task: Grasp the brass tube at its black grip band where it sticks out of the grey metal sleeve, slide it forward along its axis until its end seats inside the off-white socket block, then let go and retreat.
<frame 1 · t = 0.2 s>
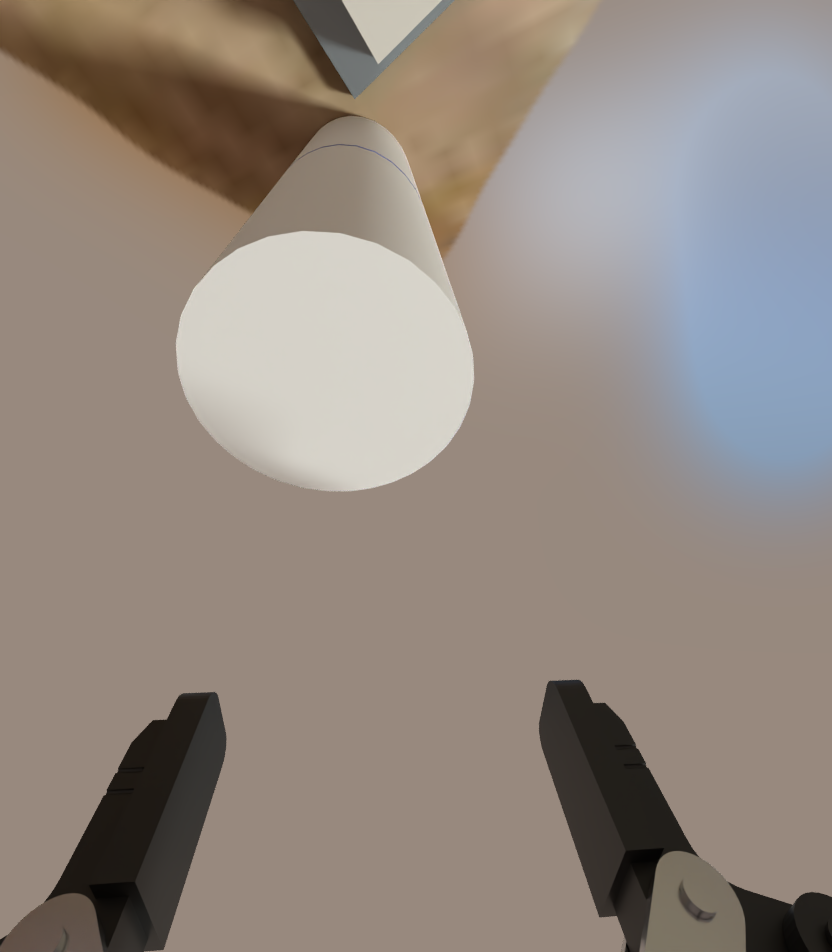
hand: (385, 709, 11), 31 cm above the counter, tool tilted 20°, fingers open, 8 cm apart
cylindrical container: (357, 184, 30), on the counter
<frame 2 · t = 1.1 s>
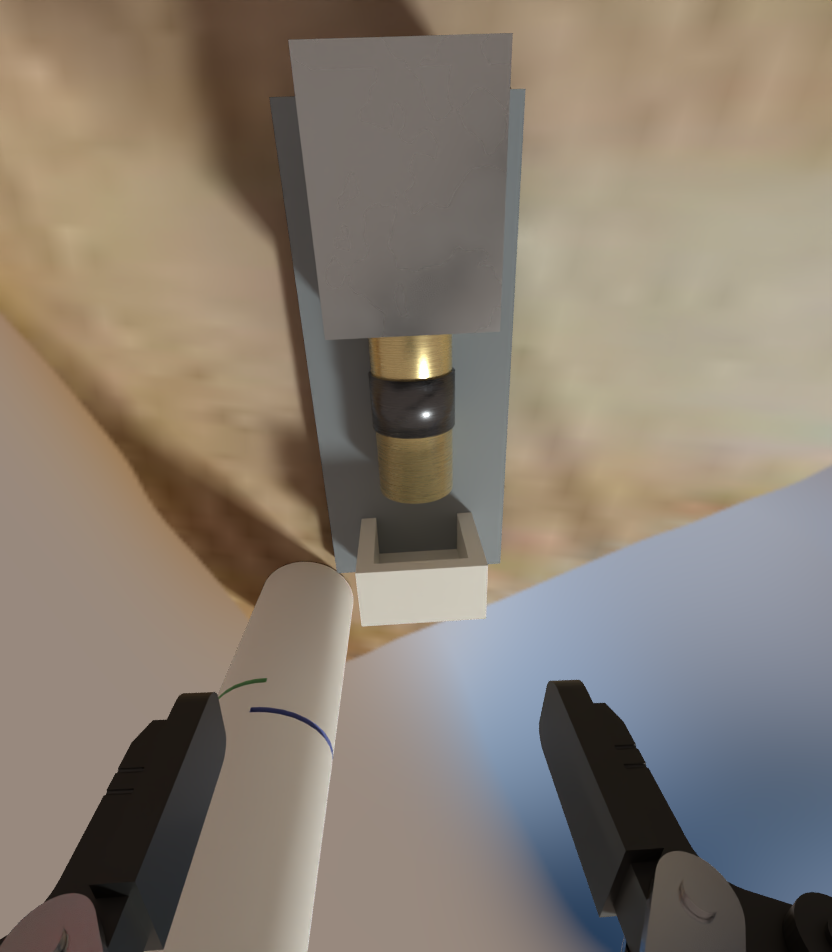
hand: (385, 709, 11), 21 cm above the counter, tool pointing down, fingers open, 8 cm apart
tube: (409, 333, 24), point 4 cm above the counter, slide at 0.0 cm
socket: (416, 528, 33), resting on board
sleeve: (403, 228, 25), resting on board
cylindrical container: (308, 597, 36), on the counter
board: (410, 377, 28), on the counter
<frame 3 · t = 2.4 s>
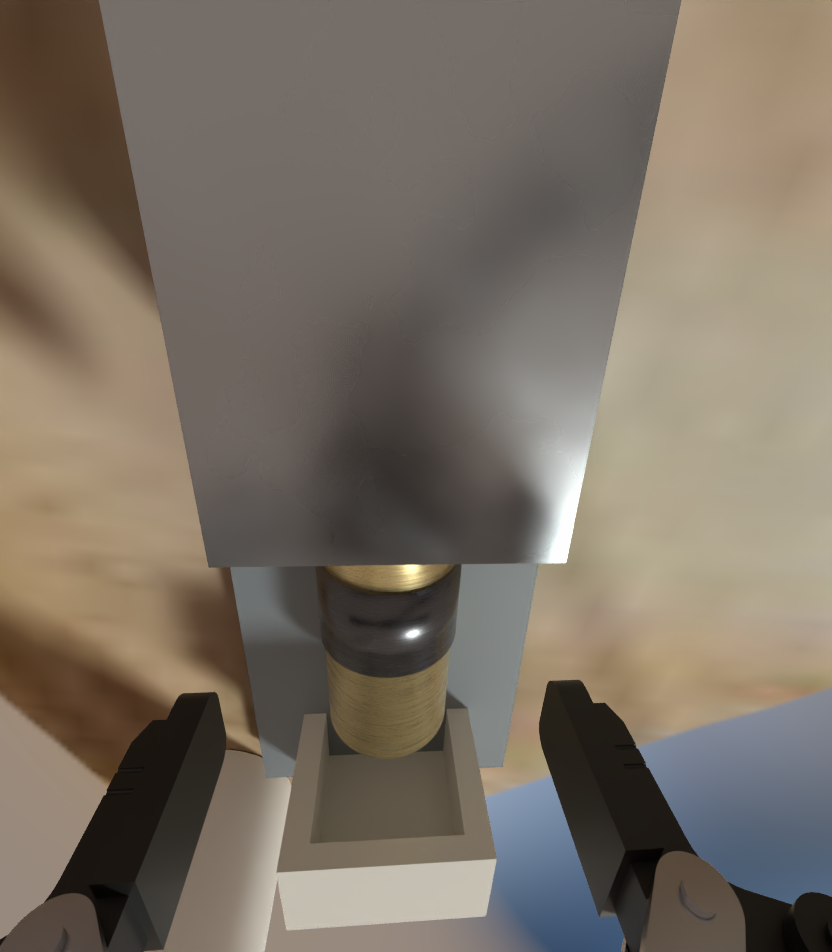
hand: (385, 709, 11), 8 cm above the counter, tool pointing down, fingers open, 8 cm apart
tube: (389, 495, 14), point 4 cm above the counter, slide at 0.0 cm
socket: (386, 712, 23), resting on board
sleeve: (389, 309, 15), resting on board
cylindrical container: (227, 788, 25), on the counter
board: (387, 522, 19), on the counter
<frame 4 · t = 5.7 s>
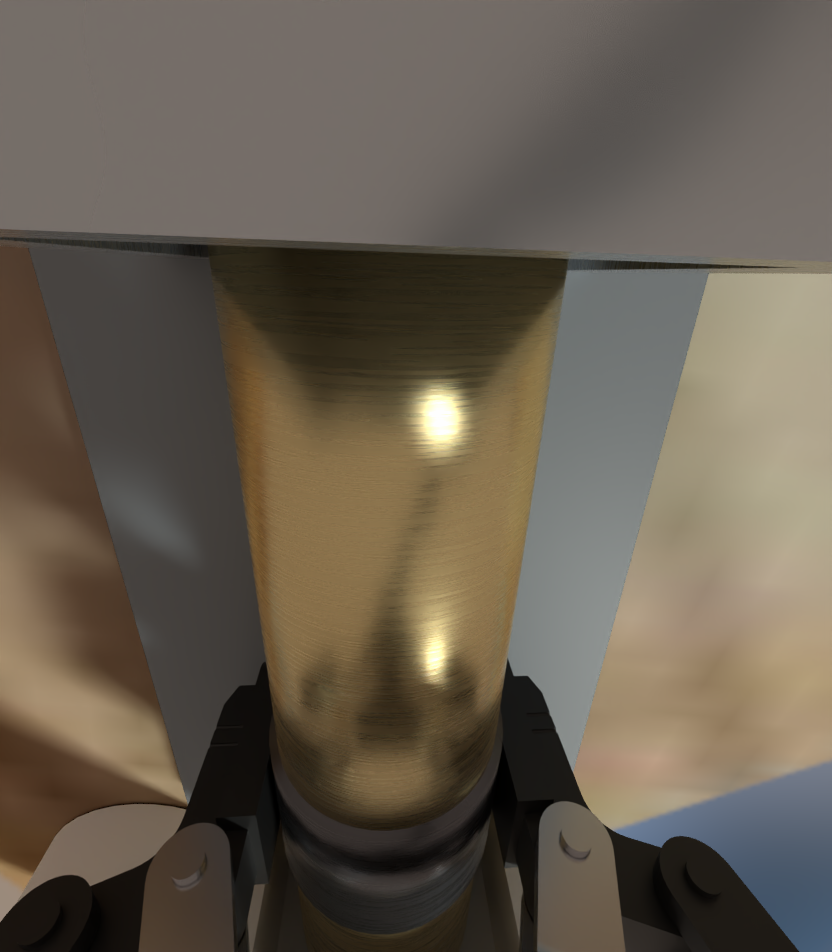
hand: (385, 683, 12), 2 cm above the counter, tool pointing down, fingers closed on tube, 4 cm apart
tube: (388, 636, 8), point 4 cm above the counter, slide at 5.9 cm, touching gripper
socket: (385, 746, 16), resting on board
cylindrical container: (155, 854, 17), on the counter
board: (386, 437, 11), on the counter
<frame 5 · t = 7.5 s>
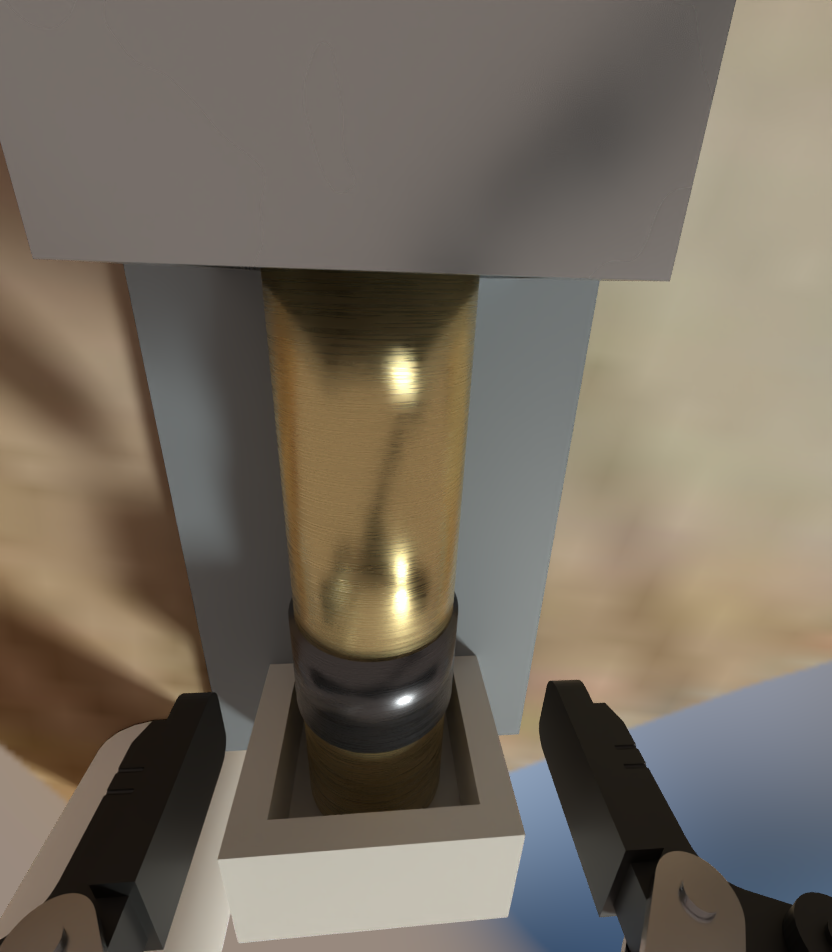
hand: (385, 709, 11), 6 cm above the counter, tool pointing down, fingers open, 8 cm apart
tube: (374, 540, 12), point 4 cm above the counter, slide at 5.9 cm
socket: (375, 668, 19), resting on board
sleeve: (371, 73, 11), resting on board
cylindrical container: (181, 770, 21), on the counter
board: (373, 404, 14), on the counter
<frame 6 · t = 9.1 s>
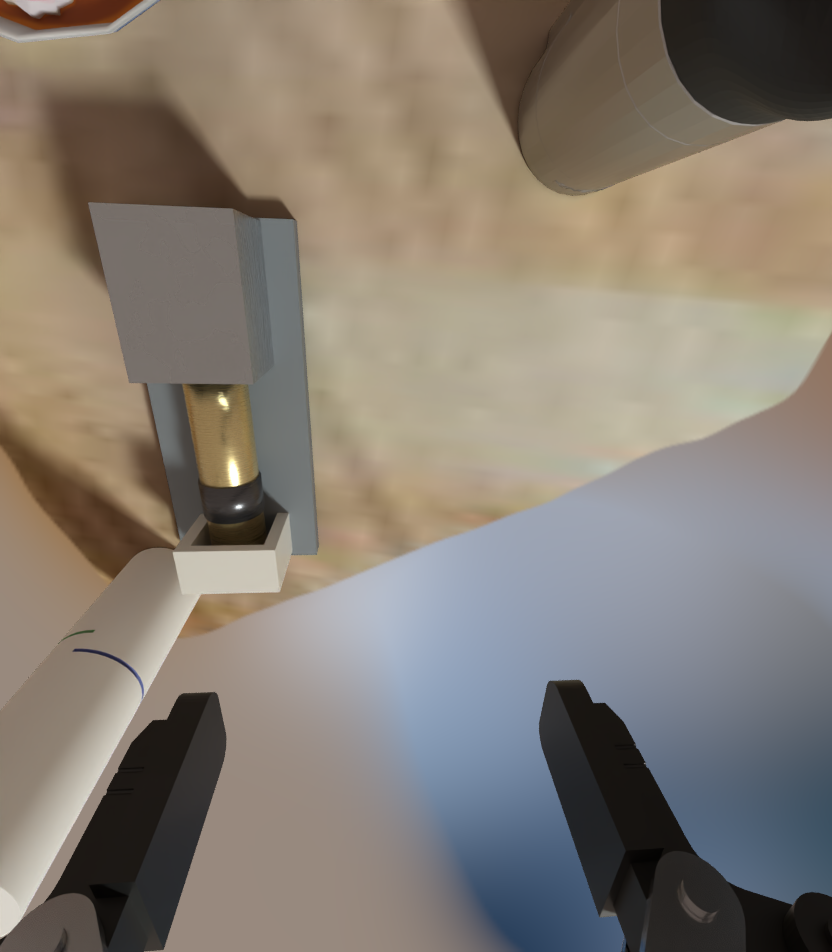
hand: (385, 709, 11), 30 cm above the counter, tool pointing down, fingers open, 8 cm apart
tube: (226, 453, 35), point 4 cm above the counter, slide at 5.9 cm
socket: (252, 524, 42), resting on board
sleeve: (221, 301, 34), resting on board
cylindrical container: (166, 577, 44), on the counter
board: (236, 407, 38), on the counter
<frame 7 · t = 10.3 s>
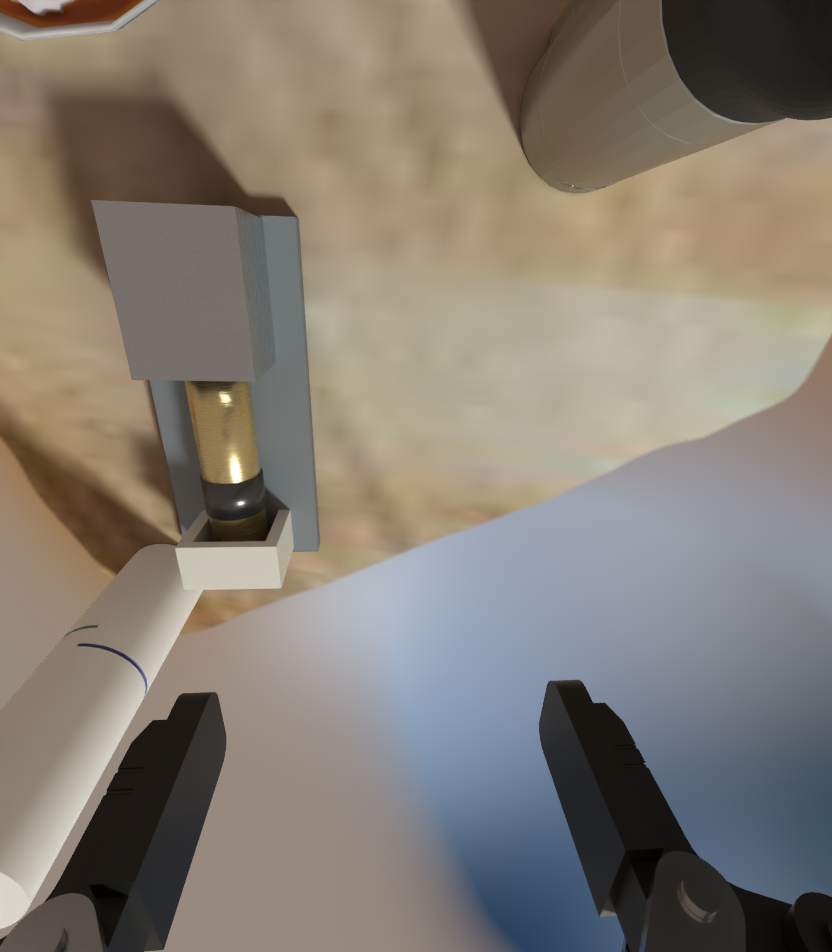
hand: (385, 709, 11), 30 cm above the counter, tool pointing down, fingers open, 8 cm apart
tube: (228, 450, 35), point 4 cm above the counter, slide at 5.9 cm
socket: (253, 520, 42), resting on board
sleeve: (224, 298, 34), resting on board
cylindrical container: (169, 573, 44), on the counter
board: (238, 404, 38), on the counter
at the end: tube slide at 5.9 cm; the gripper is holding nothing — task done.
